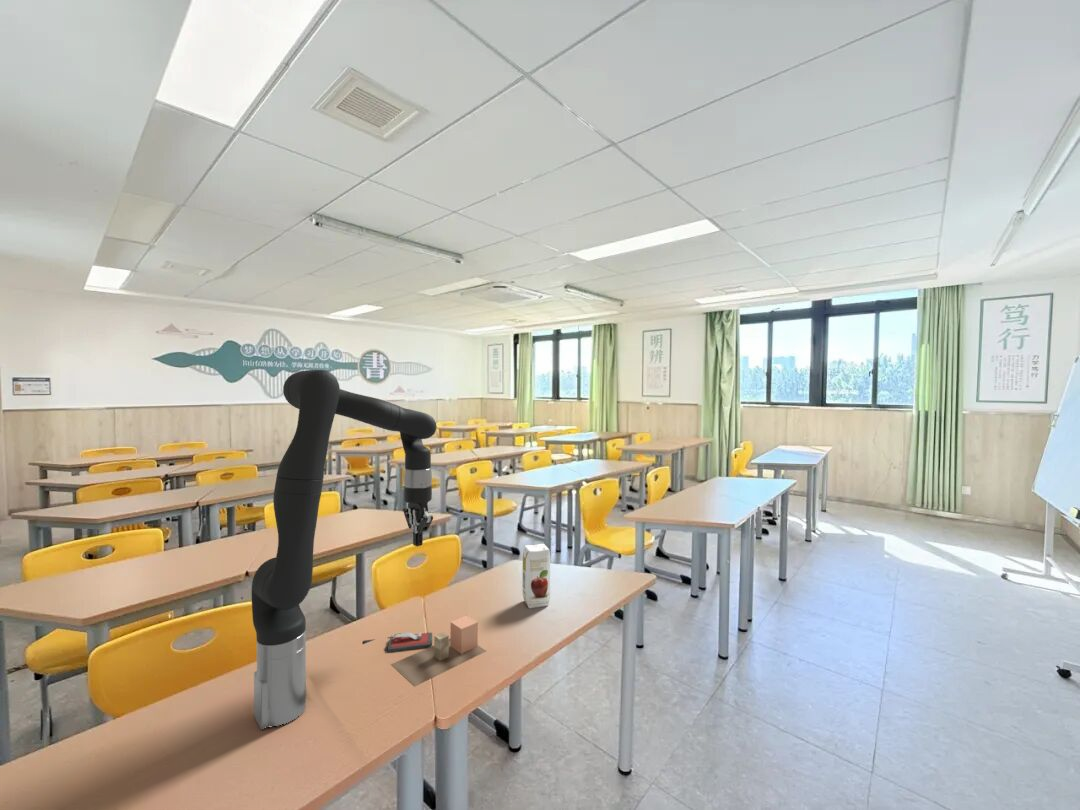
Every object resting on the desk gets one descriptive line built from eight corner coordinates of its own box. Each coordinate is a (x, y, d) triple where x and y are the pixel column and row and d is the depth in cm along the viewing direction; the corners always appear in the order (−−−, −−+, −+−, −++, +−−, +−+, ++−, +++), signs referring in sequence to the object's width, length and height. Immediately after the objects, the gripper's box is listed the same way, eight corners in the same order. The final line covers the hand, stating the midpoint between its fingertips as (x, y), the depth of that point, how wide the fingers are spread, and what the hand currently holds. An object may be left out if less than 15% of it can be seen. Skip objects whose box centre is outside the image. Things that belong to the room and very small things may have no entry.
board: (414, 692, 104) (414, 663, 104) (390, 670, 112) (390, 642, 112) (486, 656, 119) (486, 630, 119) (460, 639, 127) (460, 614, 127)
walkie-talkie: (436, 637, 129) (362, 645, 125) (436, 621, 129) (362, 629, 125) (436, 654, 120) (357, 663, 116) (436, 637, 120) (357, 646, 116)
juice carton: (520, 600, 152) (521, 544, 152) (544, 596, 155) (545, 542, 154) (526, 610, 145) (527, 552, 144) (552, 606, 147) (552, 549, 147)
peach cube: (461, 654, 117) (461, 629, 117) (450, 646, 121) (450, 622, 121) (477, 646, 121) (477, 622, 121) (466, 638, 124) (466, 615, 124)
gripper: (394, 482, 128) (394, 542, 128) (417, 489, 119) (417, 554, 119) (418, 479, 133) (418, 537, 134) (442, 485, 124) (442, 548, 124)
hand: (417, 545), depth 126 cm, fingers closed
